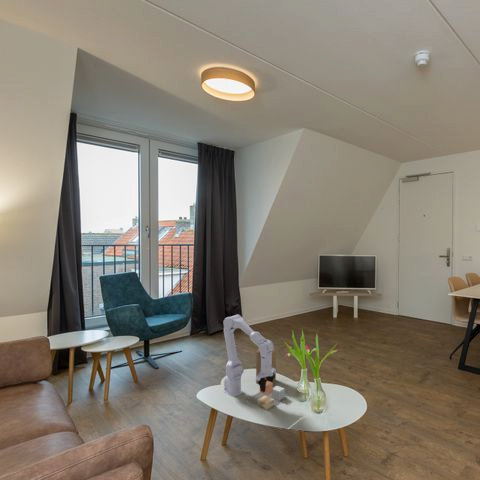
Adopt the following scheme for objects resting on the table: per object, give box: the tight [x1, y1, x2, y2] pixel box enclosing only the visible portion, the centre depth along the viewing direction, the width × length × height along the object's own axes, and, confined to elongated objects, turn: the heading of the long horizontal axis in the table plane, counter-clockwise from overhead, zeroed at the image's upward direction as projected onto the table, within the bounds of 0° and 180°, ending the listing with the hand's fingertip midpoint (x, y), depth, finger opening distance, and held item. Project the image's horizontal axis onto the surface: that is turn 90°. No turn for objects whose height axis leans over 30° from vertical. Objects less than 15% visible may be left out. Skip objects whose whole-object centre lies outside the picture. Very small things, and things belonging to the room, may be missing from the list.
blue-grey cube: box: [272, 385, 285, 400], centre depth 179 cm, size 5×5×5 cm
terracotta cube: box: [259, 381, 274, 395], centre depth 170 cm, size 5×5×5 cm
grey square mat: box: [245, 391, 289, 412], centre depth 177 cm, size 16×18×1 cm
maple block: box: [258, 396, 274, 410], centre depth 171 cm, size 6×6×3 cm
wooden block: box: [255, 348, 277, 385], centre depth 198 cm, size 10×10×20 cm
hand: (266, 389), depth 170 cm, fingers closed on terracotta cube, 5 cm apart
